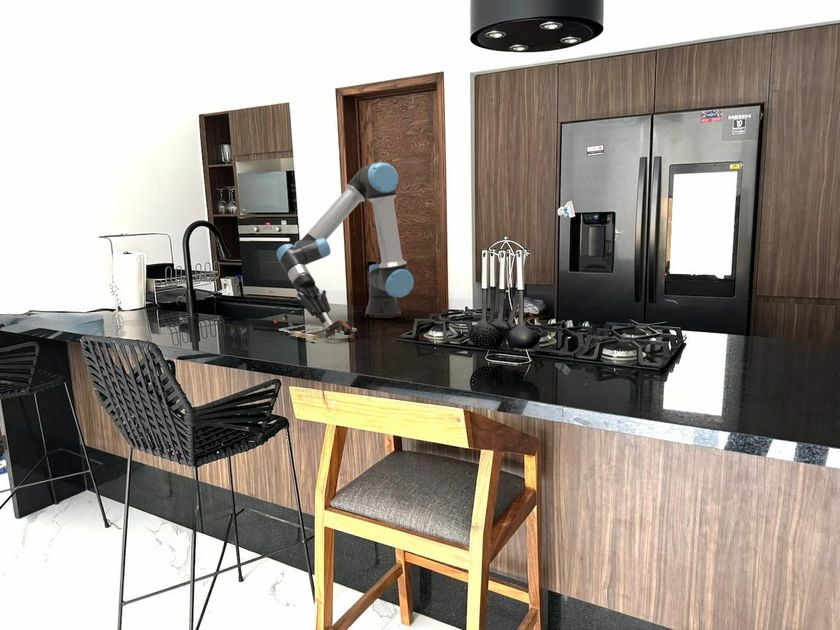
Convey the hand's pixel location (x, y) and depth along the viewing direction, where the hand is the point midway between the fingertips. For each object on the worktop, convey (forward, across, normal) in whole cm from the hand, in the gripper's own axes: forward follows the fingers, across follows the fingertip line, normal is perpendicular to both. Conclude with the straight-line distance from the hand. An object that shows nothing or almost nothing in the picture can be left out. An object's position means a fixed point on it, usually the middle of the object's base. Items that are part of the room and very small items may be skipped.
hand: (330, 328), depth 223 cm
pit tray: (-10, 0, -15) cm, 18 cm away
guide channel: (0, 0, -5) cm, 5 cm away
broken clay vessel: (+6, 0, +1) cm, 7 cm away
